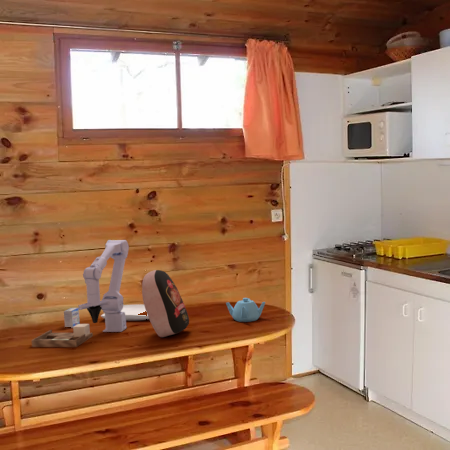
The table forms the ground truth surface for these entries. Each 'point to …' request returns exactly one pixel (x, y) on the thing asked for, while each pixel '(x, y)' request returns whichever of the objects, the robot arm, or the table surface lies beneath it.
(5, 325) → the table surface
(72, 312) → the medicine box
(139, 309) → the square plate
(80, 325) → the cream block
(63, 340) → the trap tray
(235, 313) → the teapot
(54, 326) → the table surface
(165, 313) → the packaged food
